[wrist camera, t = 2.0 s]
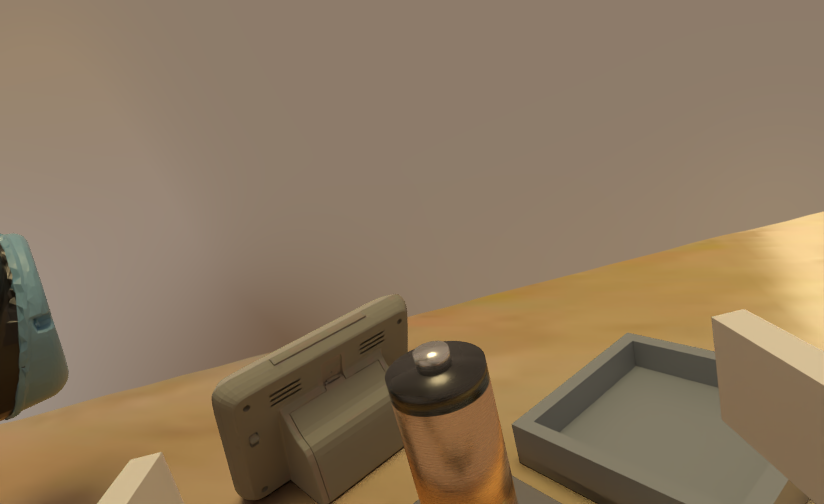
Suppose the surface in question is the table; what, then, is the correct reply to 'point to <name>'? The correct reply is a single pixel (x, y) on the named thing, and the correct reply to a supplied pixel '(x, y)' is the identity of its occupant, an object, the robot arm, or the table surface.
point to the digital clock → (315, 406)
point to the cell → (450, 425)
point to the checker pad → (527, 494)
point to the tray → (647, 433)
